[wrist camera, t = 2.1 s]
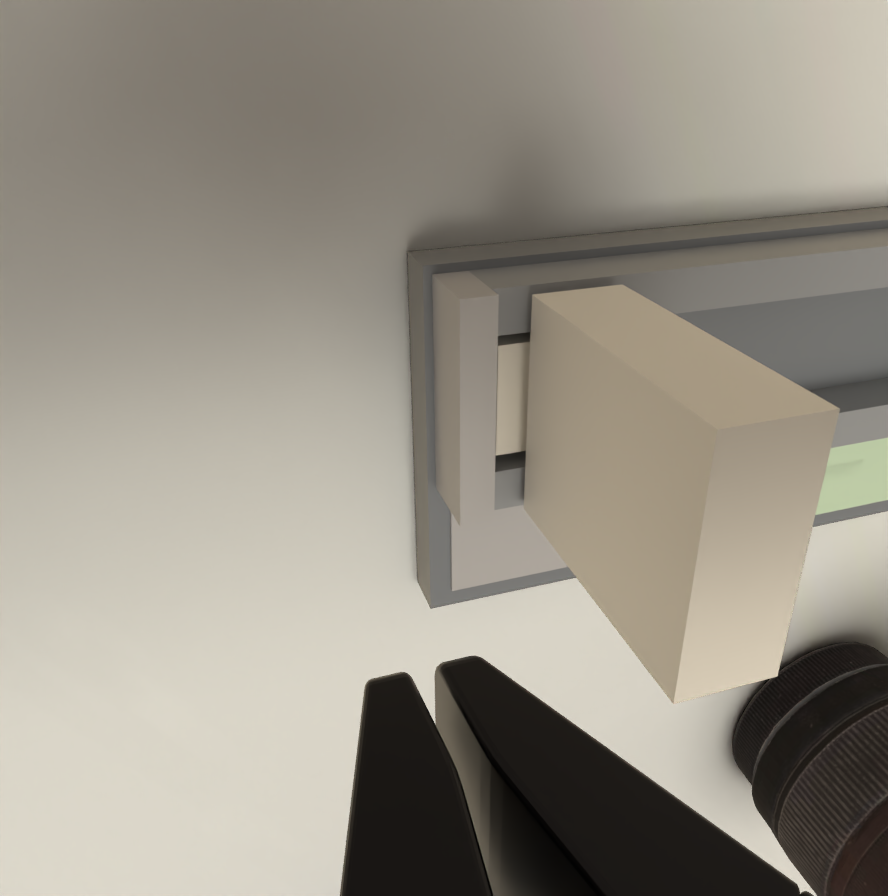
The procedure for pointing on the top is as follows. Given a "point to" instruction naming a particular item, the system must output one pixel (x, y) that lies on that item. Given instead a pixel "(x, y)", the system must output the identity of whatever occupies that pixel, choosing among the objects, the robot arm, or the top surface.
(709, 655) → the slider tab
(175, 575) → the top surface
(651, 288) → the switch board
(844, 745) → the camera lens
